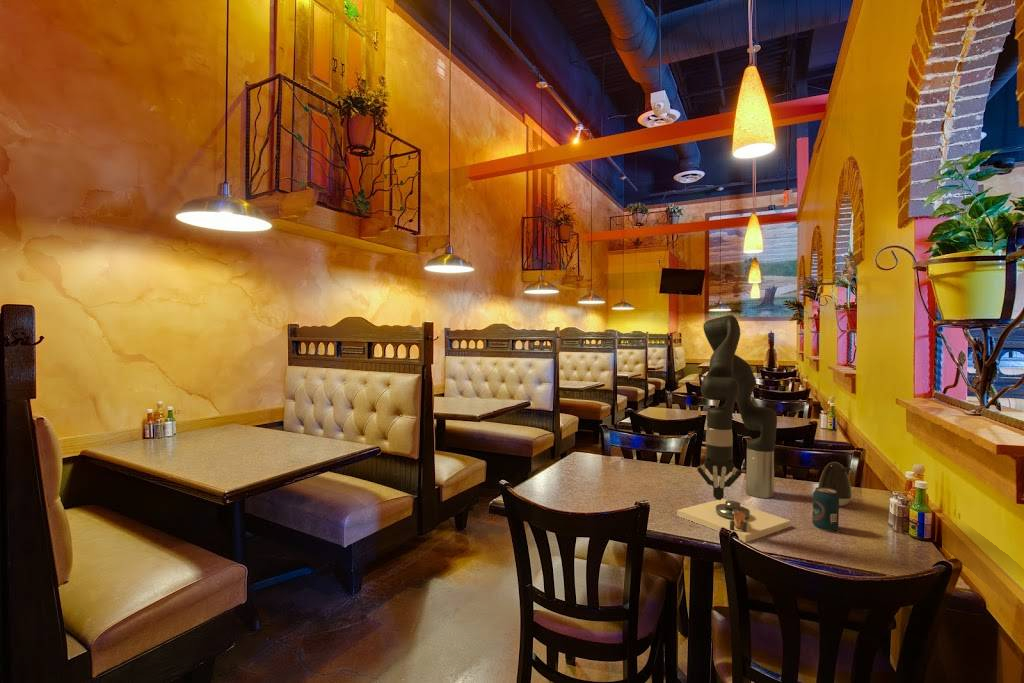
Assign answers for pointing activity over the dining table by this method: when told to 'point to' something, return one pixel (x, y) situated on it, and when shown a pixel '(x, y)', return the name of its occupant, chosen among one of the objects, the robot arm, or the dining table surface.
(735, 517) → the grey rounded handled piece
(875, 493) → the dining table surface
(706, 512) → the base board
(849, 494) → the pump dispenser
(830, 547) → the dining table surface
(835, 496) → the soda can
